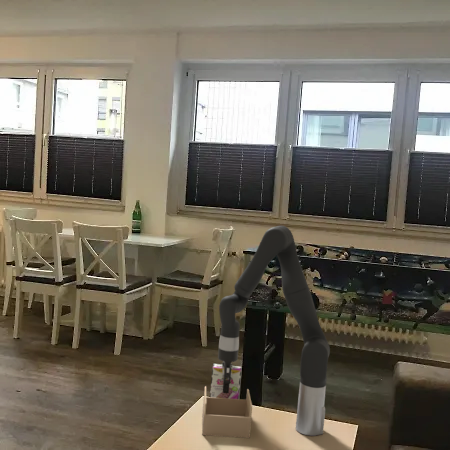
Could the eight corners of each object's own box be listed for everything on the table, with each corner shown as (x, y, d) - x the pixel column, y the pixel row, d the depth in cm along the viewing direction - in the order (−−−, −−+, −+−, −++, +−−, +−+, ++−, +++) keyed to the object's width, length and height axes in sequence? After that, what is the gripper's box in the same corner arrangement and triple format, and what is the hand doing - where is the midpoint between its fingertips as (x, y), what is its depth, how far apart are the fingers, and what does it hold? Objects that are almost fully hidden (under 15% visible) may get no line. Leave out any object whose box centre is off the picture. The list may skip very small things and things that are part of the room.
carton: (246, 418, 209) (248, 389, 208) (249, 437, 192) (252, 406, 192) (202, 415, 208) (204, 386, 207) (202, 434, 192) (204, 403, 191)
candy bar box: (208, 409, 214) (211, 367, 213) (209, 404, 219) (212, 363, 217) (237, 412, 213) (241, 370, 212) (238, 407, 218) (241, 366, 217)
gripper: (239, 353, 208) (236, 396, 209) (237, 342, 222) (233, 382, 223) (219, 352, 207) (215, 395, 208) (218, 341, 221) (214, 381, 223)
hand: (225, 388), depth 216 cm, fingers open, 8 cm apart
